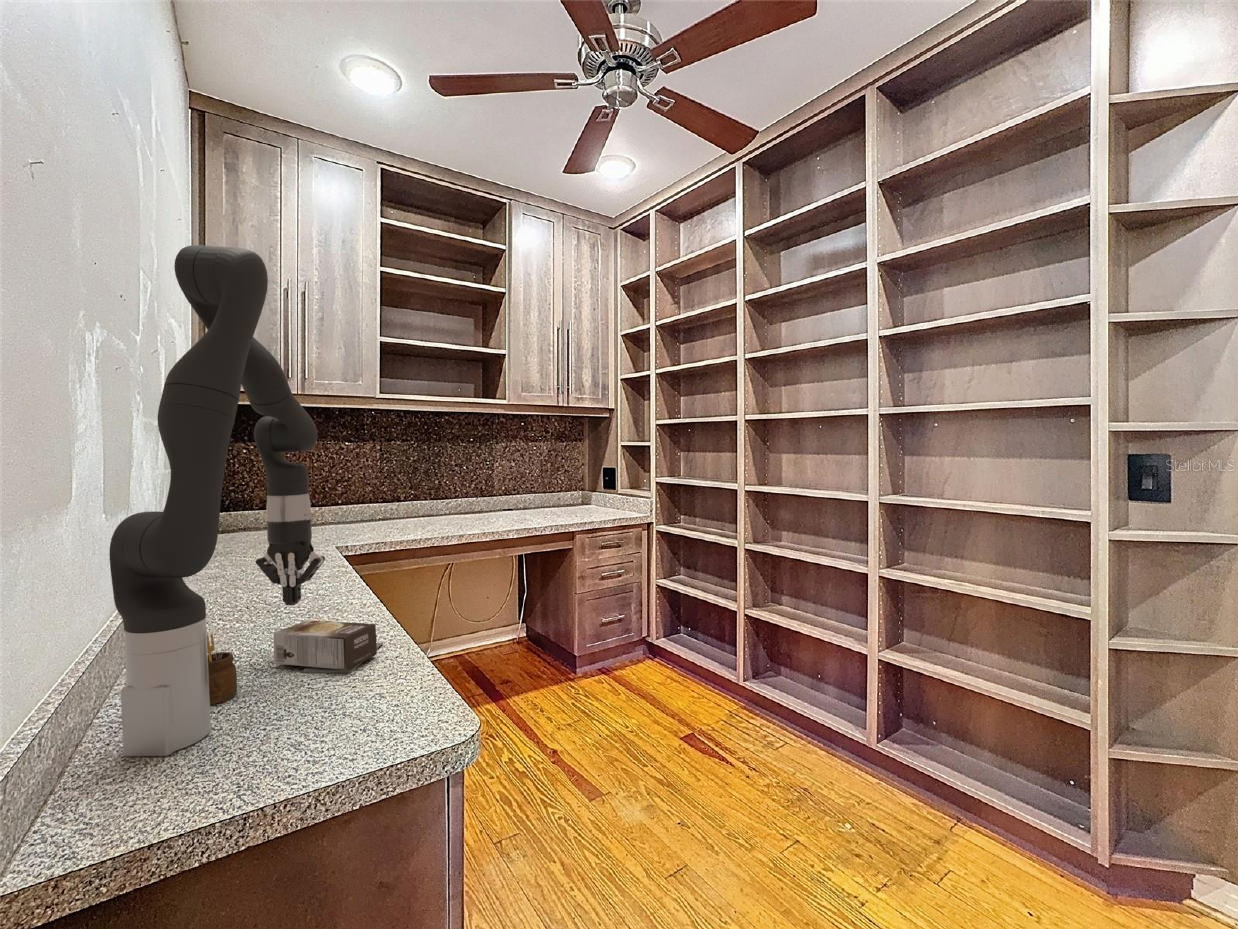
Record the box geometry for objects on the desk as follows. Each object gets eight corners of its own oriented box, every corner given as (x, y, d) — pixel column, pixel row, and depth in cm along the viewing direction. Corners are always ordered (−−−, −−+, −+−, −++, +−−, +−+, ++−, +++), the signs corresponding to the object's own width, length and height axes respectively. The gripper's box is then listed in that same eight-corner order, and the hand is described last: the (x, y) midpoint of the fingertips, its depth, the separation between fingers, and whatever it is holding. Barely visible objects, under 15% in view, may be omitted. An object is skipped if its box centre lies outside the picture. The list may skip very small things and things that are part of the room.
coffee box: (308, 618, 115) (377, 622, 112) (309, 649, 115) (378, 654, 112) (272, 632, 106) (346, 637, 103) (272, 665, 106) (346, 671, 103)
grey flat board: (351, 672, 104) (350, 670, 104) (302, 673, 104) (302, 670, 104) (382, 645, 118) (382, 642, 118) (340, 645, 118) (340, 643, 118)
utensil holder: (241, 687, 98) (238, 620, 98) (231, 703, 92) (228, 632, 92) (201, 693, 96) (198, 625, 96) (188, 710, 90) (184, 637, 90)
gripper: (242, 520, 106) (246, 610, 107) (312, 519, 106) (315, 609, 107) (267, 515, 114) (270, 599, 115) (332, 514, 114) (335, 598, 115)
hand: (292, 604), depth 111 cm, fingers closed
